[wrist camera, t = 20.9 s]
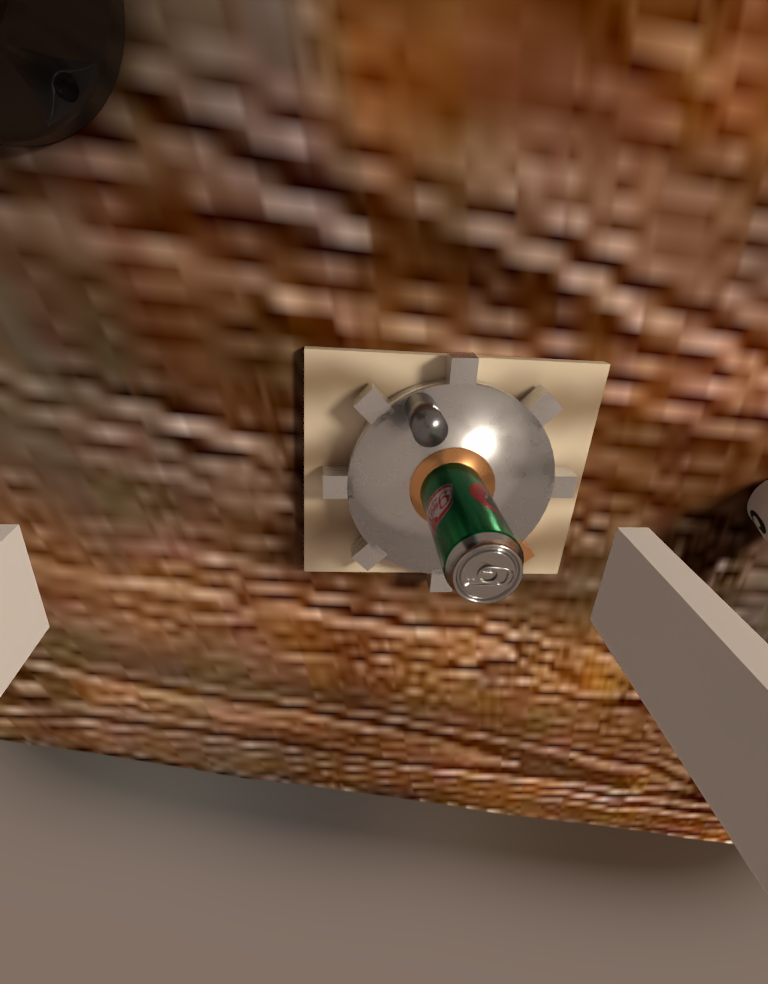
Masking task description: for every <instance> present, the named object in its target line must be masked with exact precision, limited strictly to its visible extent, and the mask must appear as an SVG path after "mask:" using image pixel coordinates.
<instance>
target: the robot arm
mask: <svg viewBox="0 0 768 984" xmlns="http://www.w3.org/2000/svg"><path fill="white" fill-rule="evenodd" d="M124 32H125V24H124V7H123V0H0V144H4V145H10V146H21V147H30V146H41V145H46V144H51V143H54V142H57V141H60V140H63V139H65V138H67V137H69V136H71V135H73V134H75V133H76V132H78V131H79V130H81V129H82V128H83V127H85V126H86V125H87V124H88V123H89V122H90V121H91V120H92V119H93V118H94V117H95V116H96V115H97V114H98V112H99V111H100V110H101V109H102V107H103V106H104V104H105V102H106V101H107V99H108V97H109V95H110V93H111V91H112V89H113V87H114V84H115V82H116V79H117V76H118V73H119V69H120V65H121V60H122V55H123V47H124ZM590 621H591V622H592V624H593V625H594V627H595V628H596V630H597V631H598V633H599V635H600V636H601V638H602V639H603V641H604V642H605V644H606V645H607V647H608V649H609V650H610V652H611V653H612V655H613V656H614V658H615V659H616V661H617V663H618V664H619V666H620V667H621V669H622V670H623V672H624V673H625V675H626V677H627V678H628V680H629V681H630V683H631V684H632V686H633V687H634V689H635V691H636V692H637V694H638V695H639V697H640V698H641V700H642V702H643V703H644V705H645V706H646V708H647V709H648V711H649V712H650V714H651V716H652V717H653V719H654V720H655V722H656V723H657V725H658V726H659V728H660V730H661V731H662V733H663V734H664V736H665V737H666V739H667V740H668V742H669V744H670V745H671V747H672V748H673V750H674V751H675V753H676V754H677V756H678V758H679V759H680V761H681V762H682V764H683V765H684V767H685V768H686V770H687V772H688V773H689V775H690V776H691V778H692V779H693V781H694V782H695V784H696V786H697V787H698V789H699V790H700V792H701V793H702V795H703V796H704V798H705V800H706V801H707V803H708V804H709V806H710V807H711V809H712V810H713V812H714V814H715V815H716V817H717V818H718V820H719V821H720V823H721V824H722V826H723V828H724V829H725V831H726V832H727V834H728V835H729V837H730V838H731V840H732V842H733V843H734V845H735V846H736V848H737V849H738V851H739V853H740V854H741V856H742V857H743V859H744V860H745V862H746V863H747V865H748V867H749V868H750V870H751V871H752V873H753V874H754V876H755V877H756V879H757V881H758V882H759V884H760V885H761V887H762V888H763V890H764V891H765V893H766V895H767V896H768V644H767V643H766V642H765V641H764V640H763V639H762V638H761V637H760V636H759V635H758V634H757V633H756V632H755V631H754V630H753V629H752V628H751V627H750V626H749V625H748V624H747V623H746V622H745V621H744V620H743V619H742V618H741V617H740V616H739V615H738V614H736V613H735V612H734V611H733V610H732V609H731V608H730V607H729V606H728V605H727V604H726V603H725V602H724V601H723V600H722V599H721V598H720V597H719V596H718V595H717V594H716V593H715V592H714V591H713V590H712V589H711V588H710V587H709V586H708V585H707V584H706V583H705V582H704V581H703V580H702V579H701V578H700V577H699V576H698V575H696V574H695V573H694V572H693V571H692V570H691V569H690V568H689V567H688V566H687V565H686V564H685V563H684V562H683V561H682V560H681V559H680V558H679V557H678V556H677V555H676V554H675V553H674V552H673V551H672V550H671V549H670V548H669V547H668V546H667V545H666V544H665V543H664V542H663V541H662V540H661V539H660V538H659V537H658V536H656V535H655V534H654V533H653V532H652V531H651V530H650V529H649V528H617V531H616V534H615V538H614V541H613V544H612V548H611V551H610V554H609V558H608V561H607V564H606V568H605V571H604V574H603V578H602V581H601V584H600V588H599V591H598V594H597V598H596V601H595V604H594V608H593V611H592V614H591V618H590ZM48 628H49V623H48V620H47V617H46V613H45V610H44V607H43V603H42V600H41V597H40V593H39V590H38V587H37V583H36V580H35V577H34V573H33V570H32V567H31V563H30V560H29V557H28V553H27V550H26V547H25V543H24V540H23V537H22V533H21V530H20V527H19V524H0V697H1V695H2V694H3V693H4V691H5V690H6V688H7V687H8V685H9V684H10V683H11V681H12V680H13V678H14V677H15V675H16V674H17V673H18V671H19V670H20V668H21V667H22V665H23V664H24V663H25V661H26V660H27V658H28V657H29V655H30V654H31V653H32V651H33V650H34V648H35V647H36V645H37V644H38V643H39V641H40V640H41V638H42V637H43V635H44V634H45V633H46V631H47V630H48Z"/></svg>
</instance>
